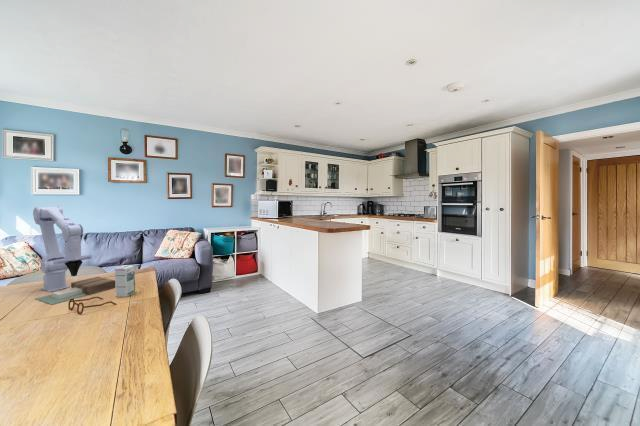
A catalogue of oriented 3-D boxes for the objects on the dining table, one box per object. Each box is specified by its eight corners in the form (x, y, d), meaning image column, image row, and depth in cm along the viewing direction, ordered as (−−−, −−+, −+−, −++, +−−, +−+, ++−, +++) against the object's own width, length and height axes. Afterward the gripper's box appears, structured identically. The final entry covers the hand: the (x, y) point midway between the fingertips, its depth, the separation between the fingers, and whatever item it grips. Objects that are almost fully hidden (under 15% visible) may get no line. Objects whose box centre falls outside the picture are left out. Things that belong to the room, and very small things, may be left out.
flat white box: (52, 297, 125) (52, 292, 125) (76, 291, 133) (76, 287, 133) (58, 299, 122) (58, 294, 122) (82, 292, 131) (82, 289, 130)
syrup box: (126, 297, 127) (126, 268, 126) (115, 296, 127) (114, 267, 126) (135, 293, 132) (134, 265, 132) (124, 292, 132) (123, 264, 132)
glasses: (67, 309, 113) (67, 298, 112) (103, 299, 124) (103, 289, 124) (81, 316, 107) (80, 304, 106) (117, 305, 118) (117, 294, 118)
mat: (34, 299, 123) (34, 298, 123) (70, 290, 134) (70, 289, 134) (51, 304, 116) (51, 304, 116) (87, 295, 128) (87, 294, 128)
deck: (71, 290, 135) (71, 282, 135) (98, 283, 146) (98, 276, 146) (88, 295, 129) (88, 287, 128) (115, 287, 140) (115, 280, 139)
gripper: (58, 252, 121) (59, 280, 121) (95, 247, 134) (95, 273, 135) (50, 250, 123) (51, 278, 124) (87, 246, 137) (88, 271, 137)
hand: (74, 275), depth 130 cm, fingers closed
